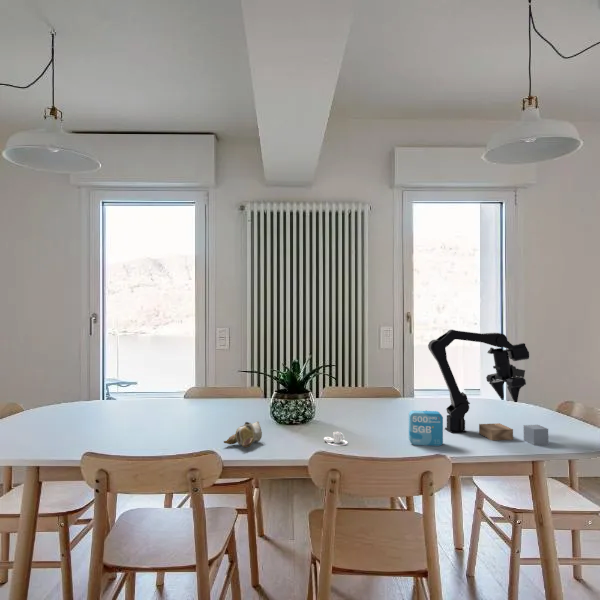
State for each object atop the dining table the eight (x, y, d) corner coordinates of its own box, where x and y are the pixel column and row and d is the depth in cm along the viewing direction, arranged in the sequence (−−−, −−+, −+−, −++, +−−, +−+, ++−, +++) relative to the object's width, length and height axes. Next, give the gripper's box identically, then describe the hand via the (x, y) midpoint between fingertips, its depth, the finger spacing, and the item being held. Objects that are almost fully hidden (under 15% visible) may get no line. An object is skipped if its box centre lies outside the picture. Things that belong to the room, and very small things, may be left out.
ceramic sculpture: (269, 418, 170) (243, 430, 158) (270, 441, 171) (244, 454, 158) (247, 415, 176) (221, 426, 164) (248, 437, 176) (222, 449, 164)
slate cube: (533, 445, 168) (533, 429, 168) (523, 440, 174) (523, 425, 174) (548, 444, 169) (548, 428, 169) (537, 440, 175) (537, 424, 175)
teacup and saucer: (320, 443, 171) (320, 432, 171) (334, 438, 176) (334, 428, 176) (338, 448, 165) (338, 437, 165) (351, 443, 170) (351, 433, 170)
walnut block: (491, 440, 174) (491, 430, 174) (479, 433, 183) (479, 424, 183) (513, 439, 175) (512, 429, 175) (499, 433, 184) (499, 423, 184)
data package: (410, 445, 168) (410, 412, 168) (408, 441, 172) (408, 410, 172) (443, 446, 166) (443, 413, 166) (440, 442, 171) (440, 411, 171)
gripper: (534, 361, 177) (541, 400, 177) (506, 358, 196) (512, 393, 195) (509, 366, 176) (516, 405, 175) (482, 362, 194) (489, 398, 194)
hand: (508, 400), depth 185 cm, fingers open, 9 cm apart
